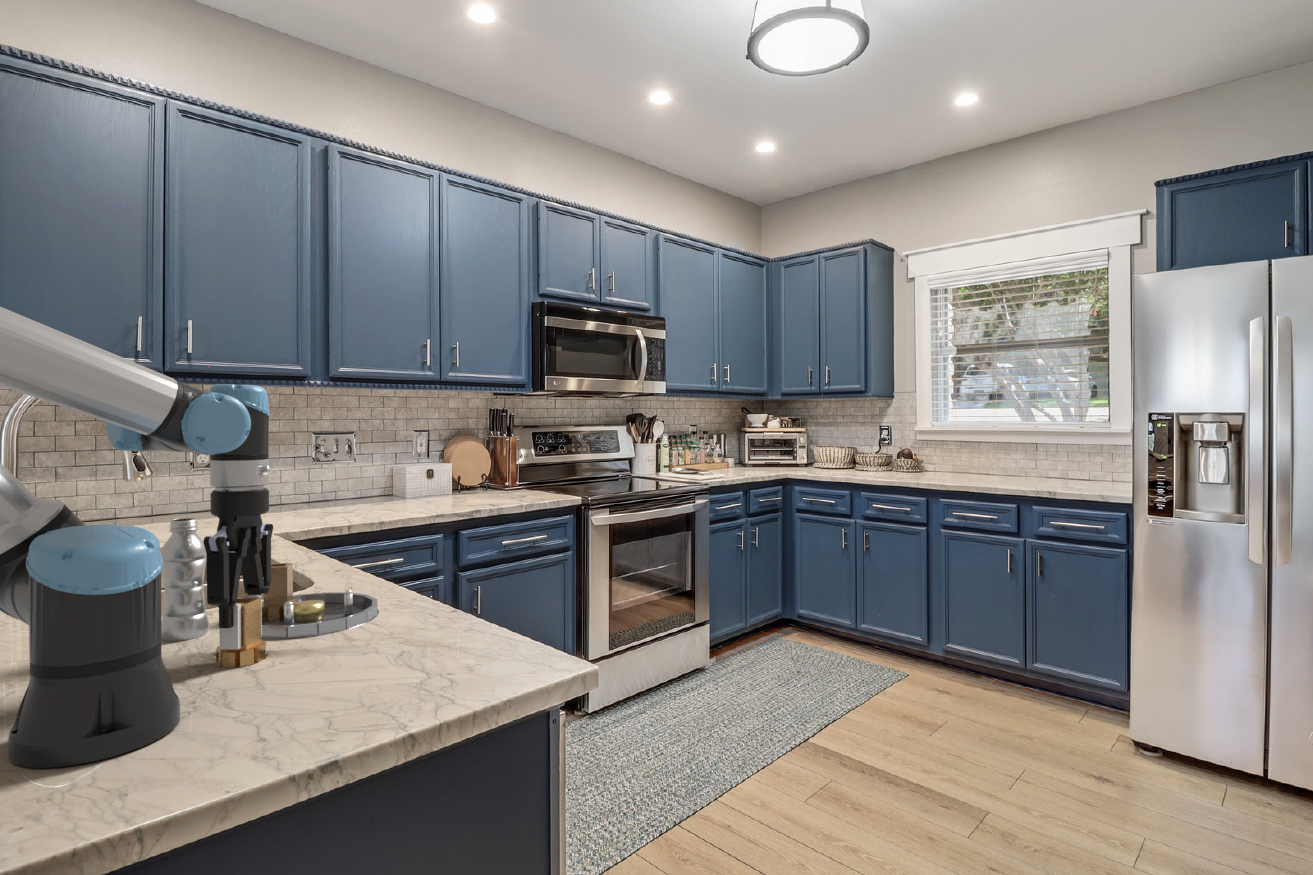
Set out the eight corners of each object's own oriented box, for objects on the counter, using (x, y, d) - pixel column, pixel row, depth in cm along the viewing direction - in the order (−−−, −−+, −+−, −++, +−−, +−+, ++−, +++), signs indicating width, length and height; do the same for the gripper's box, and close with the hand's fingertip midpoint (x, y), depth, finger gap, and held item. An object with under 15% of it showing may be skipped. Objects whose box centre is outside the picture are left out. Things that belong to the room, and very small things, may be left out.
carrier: (344, 646, 110) (343, 610, 109) (200, 645, 110) (200, 608, 109) (398, 607, 133) (398, 577, 132) (279, 606, 133) (279, 576, 132)
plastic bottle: (169, 652, 106) (168, 523, 106) (154, 643, 111) (152, 519, 110) (215, 641, 112) (214, 519, 111) (199, 633, 116) (198, 515, 115)
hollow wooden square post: (249, 667, 100) (249, 606, 100) (207, 667, 100) (206, 606, 100) (273, 653, 106) (273, 595, 106) (233, 653, 106) (233, 595, 106)
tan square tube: (293, 618, 121) (292, 568, 120) (253, 621, 119) (253, 569, 119) (301, 609, 126) (301, 561, 126) (264, 611, 125) (264, 562, 125)
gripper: (228, 494, 94) (229, 663, 94) (296, 483, 111) (296, 625, 112) (173, 493, 94) (175, 663, 94) (250, 482, 111) (250, 625, 112)
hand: (241, 642), depth 103 cm, fingers open, 4 cm apart
